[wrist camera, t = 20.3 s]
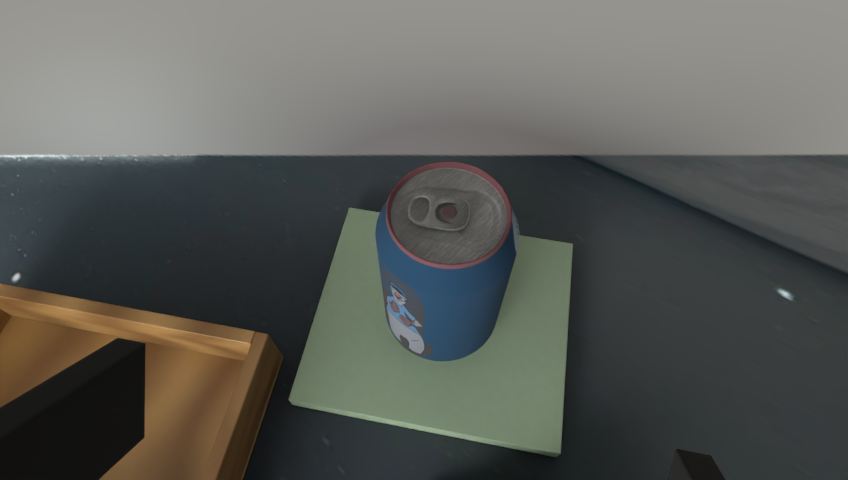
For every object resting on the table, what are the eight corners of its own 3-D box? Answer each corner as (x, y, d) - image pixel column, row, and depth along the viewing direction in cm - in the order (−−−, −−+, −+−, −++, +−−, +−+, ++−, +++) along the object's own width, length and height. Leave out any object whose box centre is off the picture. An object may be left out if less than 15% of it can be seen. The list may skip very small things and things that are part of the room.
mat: (569, 252, 39) (573, 243, 38) (556, 457, 32) (561, 453, 31) (351, 216, 40) (349, 207, 39) (292, 404, 33) (288, 399, 32)
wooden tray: (283, 356, 35) (268, 333, 31) (190, 633, 27) (157, 643, 24) (10, 304, 36) (-34, 276, 33) (-147, 551, 29) (-224, 549, 26)
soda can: (500, 276, 36) (531, 161, 26) (488, 377, 33) (519, 290, 23) (398, 260, 37) (389, 142, 27) (376, 358, 33) (356, 264, 23)
